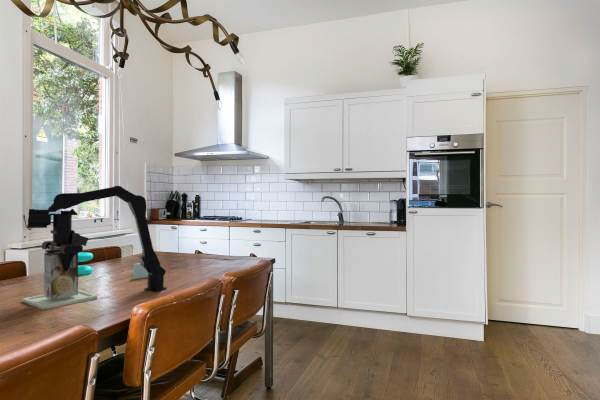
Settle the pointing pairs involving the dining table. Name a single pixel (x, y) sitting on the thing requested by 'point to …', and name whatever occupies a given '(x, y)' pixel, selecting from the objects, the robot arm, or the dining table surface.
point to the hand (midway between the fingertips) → (61, 270)
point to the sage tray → (58, 300)
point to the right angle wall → (139, 271)
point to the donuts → (84, 257)
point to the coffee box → (59, 277)
